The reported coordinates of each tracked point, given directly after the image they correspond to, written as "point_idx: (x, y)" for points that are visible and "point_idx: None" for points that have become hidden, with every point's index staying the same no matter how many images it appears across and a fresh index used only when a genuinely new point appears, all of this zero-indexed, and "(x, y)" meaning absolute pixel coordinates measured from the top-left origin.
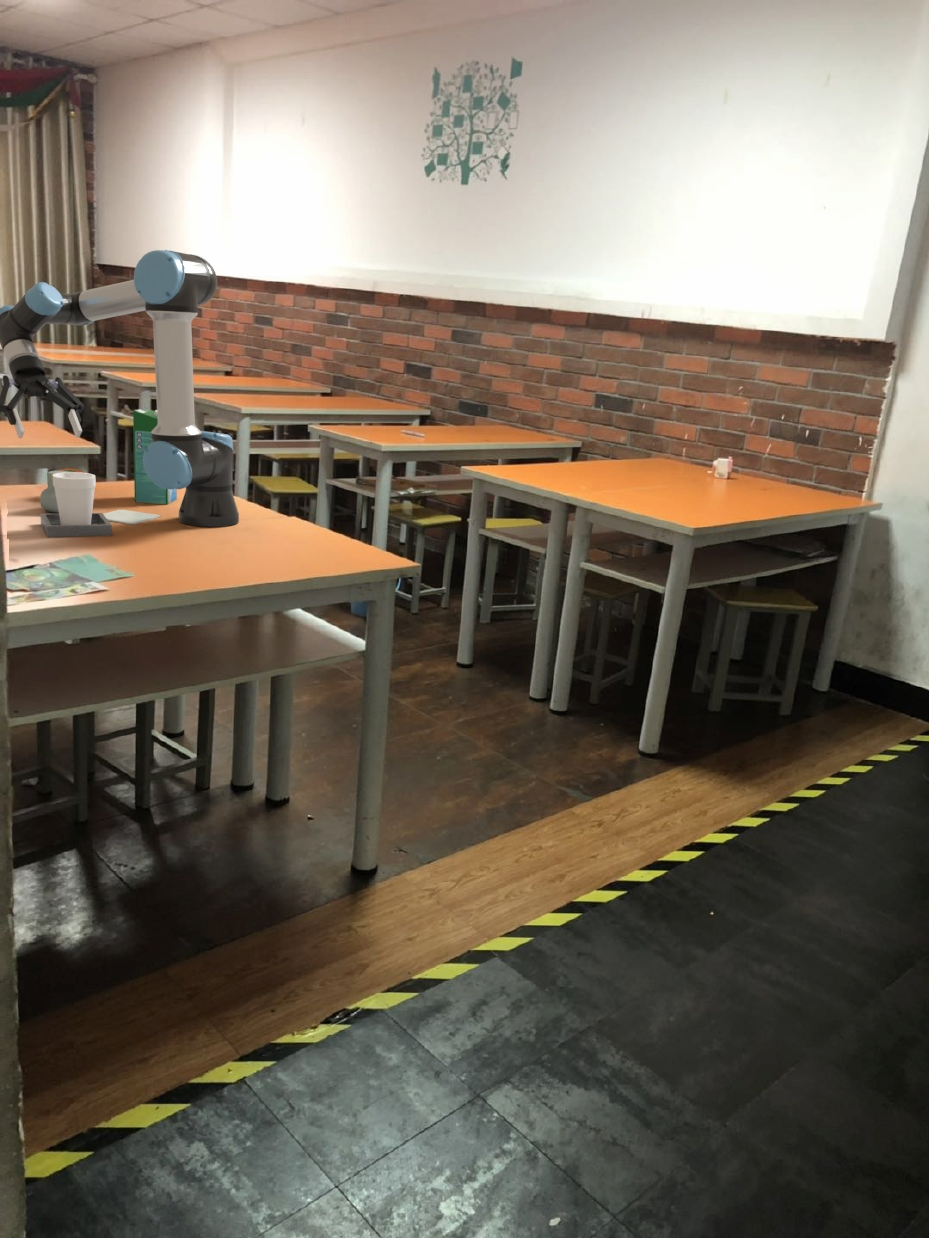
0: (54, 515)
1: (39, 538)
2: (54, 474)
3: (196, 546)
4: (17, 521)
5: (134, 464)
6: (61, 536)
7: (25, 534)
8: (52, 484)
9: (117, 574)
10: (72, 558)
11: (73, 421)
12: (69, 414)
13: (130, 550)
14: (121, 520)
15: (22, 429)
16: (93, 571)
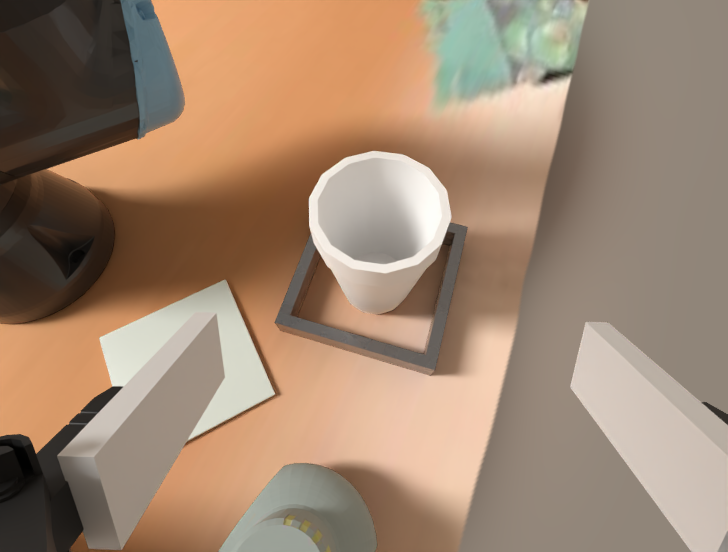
0: (402, 348)
1: (480, 238)
2: (435, 241)
3: (235, 86)
4: (478, 435)
5: None
6: None
7: (498, 283)
8: (330, 540)
9: (442, 10)
10: (471, 94)
11: (171, 404)
12: (120, 504)
13: (357, 103)
14: (231, 317)
15: (604, 329)
16: (467, 30)
